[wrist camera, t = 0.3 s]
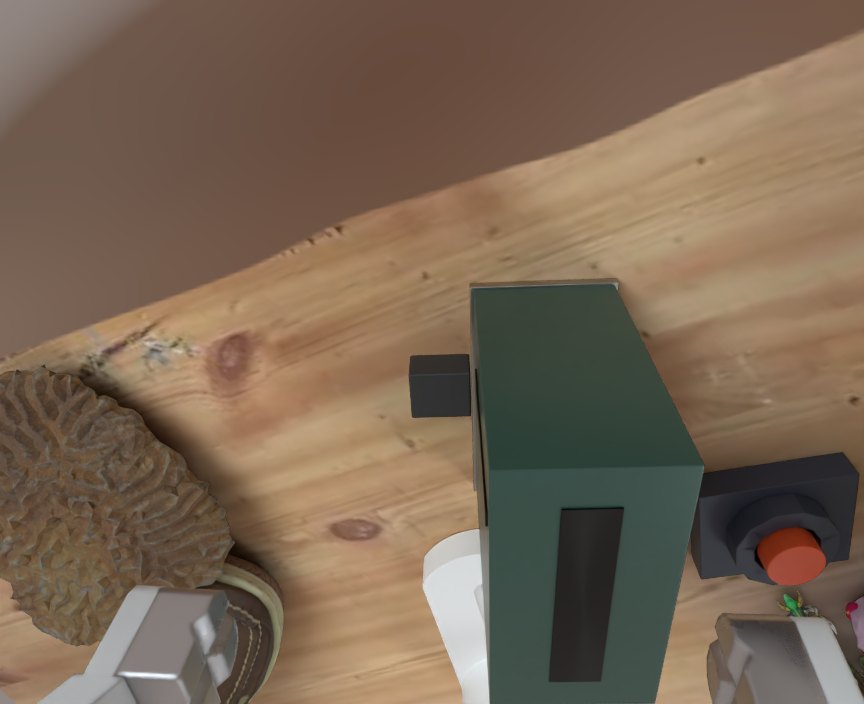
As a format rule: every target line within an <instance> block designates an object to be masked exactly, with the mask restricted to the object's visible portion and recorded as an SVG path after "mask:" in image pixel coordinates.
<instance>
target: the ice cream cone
mask: <svg viewBox="0 0 864 704" xmlns="http://www.w3.org/2000/svg"><path fill="white" fill-rule="evenodd" d="M844 613H846V616H847V617H848V618H849V619H850V620H851V622H852V627H853V630H854V632H855V635H856V638H857V647H858V648H859V649H861V650H862V652H863V653H864V596H863V597H861V598H859V599H857V600H856V601H855V602H854V603H849V604H848V605H847V606H846V608H845V612H844Z"/></svg>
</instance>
